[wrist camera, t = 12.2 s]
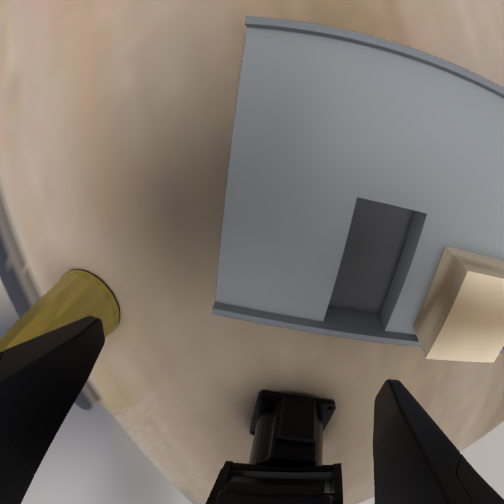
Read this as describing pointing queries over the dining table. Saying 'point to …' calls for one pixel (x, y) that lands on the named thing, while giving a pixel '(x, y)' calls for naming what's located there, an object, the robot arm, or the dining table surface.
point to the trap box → (353, 180)
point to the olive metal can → (65, 308)
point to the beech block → (463, 309)
